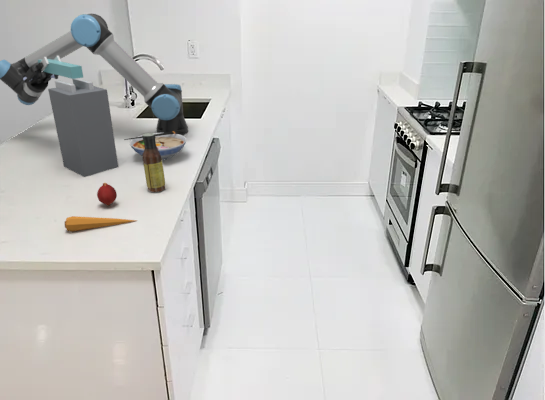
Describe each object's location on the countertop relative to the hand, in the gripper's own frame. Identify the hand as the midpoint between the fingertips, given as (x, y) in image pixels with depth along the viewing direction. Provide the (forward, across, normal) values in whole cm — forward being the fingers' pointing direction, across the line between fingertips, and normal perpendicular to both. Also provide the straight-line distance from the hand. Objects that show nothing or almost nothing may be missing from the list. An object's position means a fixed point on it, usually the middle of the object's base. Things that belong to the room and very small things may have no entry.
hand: (52, 59), depth 163 cm
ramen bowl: (+3, -25, -47) cm, 53 cm away
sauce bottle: (+26, -4, -60) cm, 65 cm away
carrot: (+35, +22, -65) cm, 77 cm away
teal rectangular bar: (+1, 0, -6) cm, 6 cm away
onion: (+25, +14, -60) cm, 66 cm away
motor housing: (-6, 0, -41) cm, 42 cm away
